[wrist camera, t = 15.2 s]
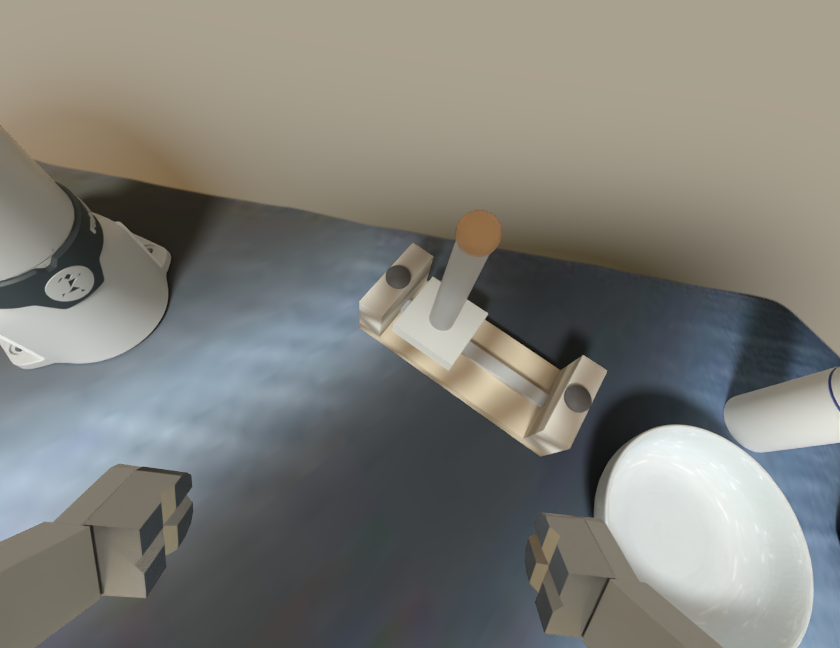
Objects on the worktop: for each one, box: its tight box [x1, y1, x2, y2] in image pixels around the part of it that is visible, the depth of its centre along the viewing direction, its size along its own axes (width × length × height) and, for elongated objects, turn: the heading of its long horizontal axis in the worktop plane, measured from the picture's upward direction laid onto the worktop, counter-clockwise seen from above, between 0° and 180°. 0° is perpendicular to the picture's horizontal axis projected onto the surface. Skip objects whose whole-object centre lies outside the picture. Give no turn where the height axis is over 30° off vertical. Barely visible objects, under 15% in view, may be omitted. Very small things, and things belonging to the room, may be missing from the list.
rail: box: [359, 243, 607, 457], centre depth 45 cm, size 26×10×7 cm, turn 55°
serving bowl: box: [594, 424, 814, 648], centre depth 40 cm, size 21×21×7 cm
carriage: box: [392, 210, 502, 371], centre depth 38 cm, size 8×8×20 cm
